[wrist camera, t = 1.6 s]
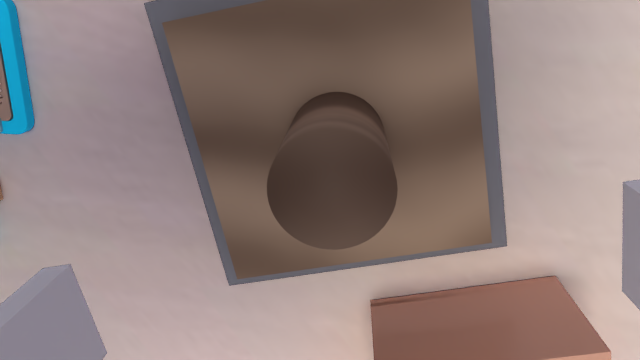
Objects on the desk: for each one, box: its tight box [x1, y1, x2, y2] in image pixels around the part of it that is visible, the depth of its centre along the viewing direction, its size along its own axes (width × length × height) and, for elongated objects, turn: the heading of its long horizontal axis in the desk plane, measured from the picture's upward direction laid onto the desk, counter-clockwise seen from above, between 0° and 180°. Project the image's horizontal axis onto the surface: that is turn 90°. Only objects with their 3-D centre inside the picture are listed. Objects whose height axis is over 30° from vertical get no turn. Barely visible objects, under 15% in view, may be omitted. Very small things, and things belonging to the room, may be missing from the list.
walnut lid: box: [162, 0, 492, 279], centre depth 20 cm, size 13×13×8 cm
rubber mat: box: [144, 0, 507, 286], centre depth 24 cm, size 15×15×1 cm
